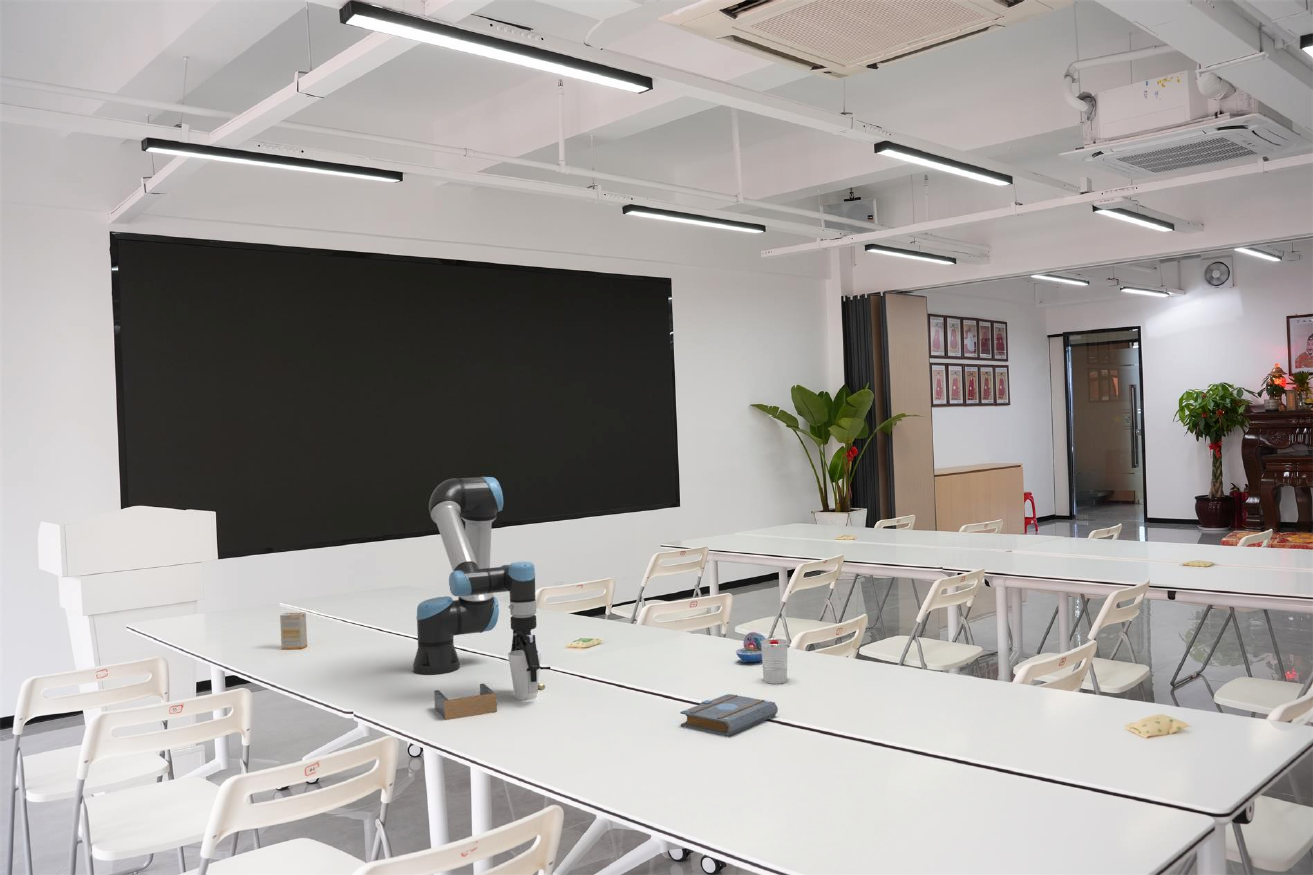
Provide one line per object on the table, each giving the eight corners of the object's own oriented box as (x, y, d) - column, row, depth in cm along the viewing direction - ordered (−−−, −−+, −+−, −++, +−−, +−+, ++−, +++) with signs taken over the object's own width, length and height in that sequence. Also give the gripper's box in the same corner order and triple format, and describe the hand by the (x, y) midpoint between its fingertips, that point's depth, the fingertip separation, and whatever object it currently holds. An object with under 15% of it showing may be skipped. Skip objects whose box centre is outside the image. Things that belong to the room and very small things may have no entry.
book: (730, 738, 241) (730, 718, 241) (679, 727, 252) (678, 708, 252) (777, 718, 257) (777, 699, 257) (727, 708, 268) (727, 690, 268)
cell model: (729, 663, 319) (728, 634, 319) (752, 656, 327) (751, 628, 327) (752, 667, 312) (751, 637, 312) (775, 660, 320) (774, 631, 320)
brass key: (524, 686, 297) (523, 681, 297) (530, 684, 299) (530, 679, 299) (539, 690, 292) (539, 685, 292) (546, 689, 294) (545, 683, 294)
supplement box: (307, 646, 368) (306, 612, 368) (301, 649, 363) (300, 614, 363) (286, 646, 368) (285, 612, 368) (280, 649, 364) (279, 614, 364)
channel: (434, 708, 276) (434, 690, 276) (484, 700, 282) (483, 683, 282) (445, 719, 264) (445, 701, 264) (497, 711, 270) (496, 693, 270)
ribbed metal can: (795, 678, 296) (794, 639, 296) (787, 685, 288) (785, 645, 288) (764, 676, 300) (762, 637, 300) (755, 683, 292) (753, 643, 292)
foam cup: (515, 703, 279) (514, 657, 279) (505, 695, 287) (503, 652, 287) (546, 698, 283) (545, 653, 283) (535, 691, 291) (534, 647, 291)
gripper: (498, 610, 295) (501, 680, 295) (524, 623, 272) (526, 699, 272) (522, 607, 298) (524, 676, 298) (549, 620, 275) (551, 695, 275)
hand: (525, 687), depth 285 cm, fingers open, 13 cm apart
